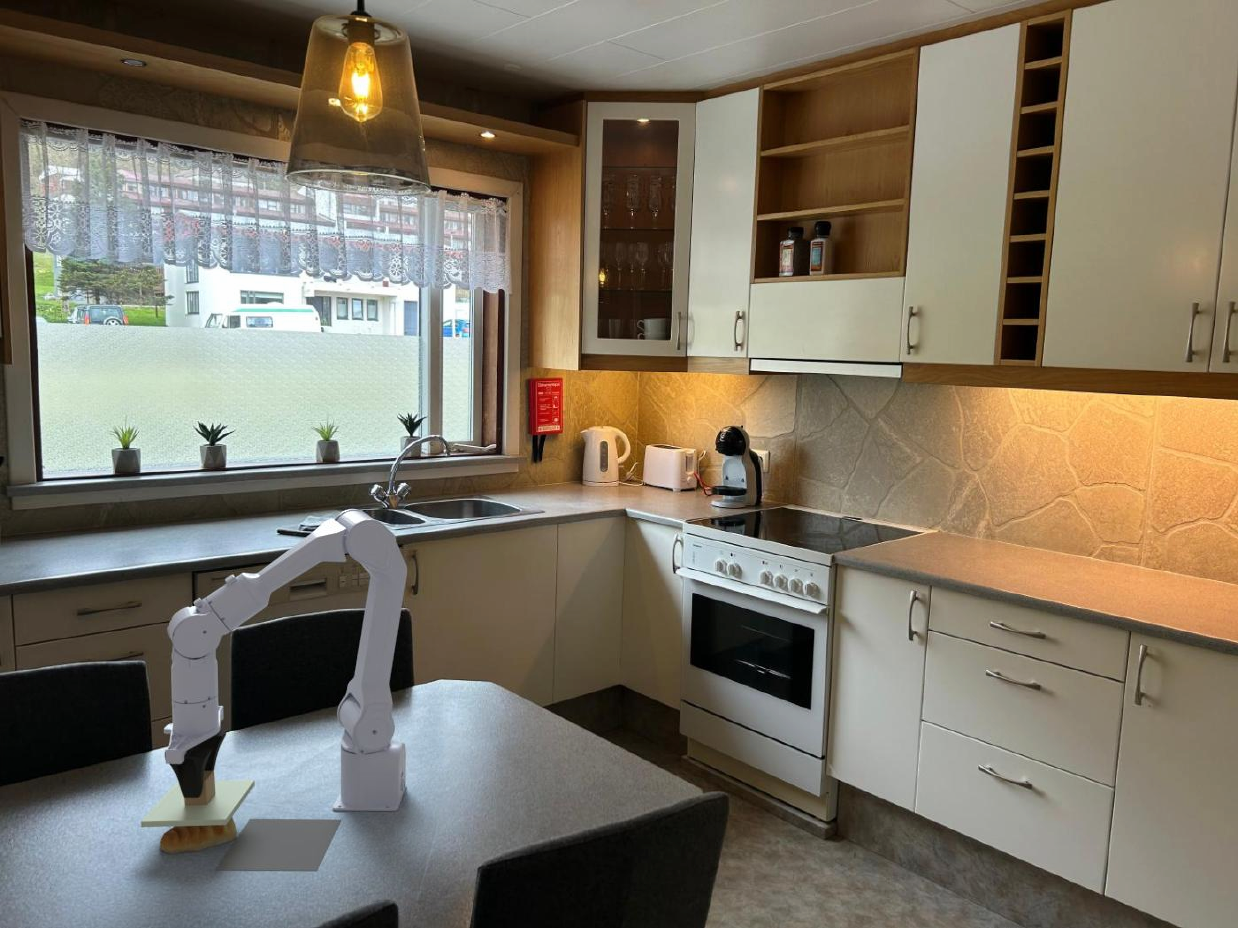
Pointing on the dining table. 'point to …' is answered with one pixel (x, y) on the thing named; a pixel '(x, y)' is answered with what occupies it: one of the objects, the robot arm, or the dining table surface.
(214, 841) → the pastry
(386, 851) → the dining table surface
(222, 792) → the cover
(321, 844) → the mat
